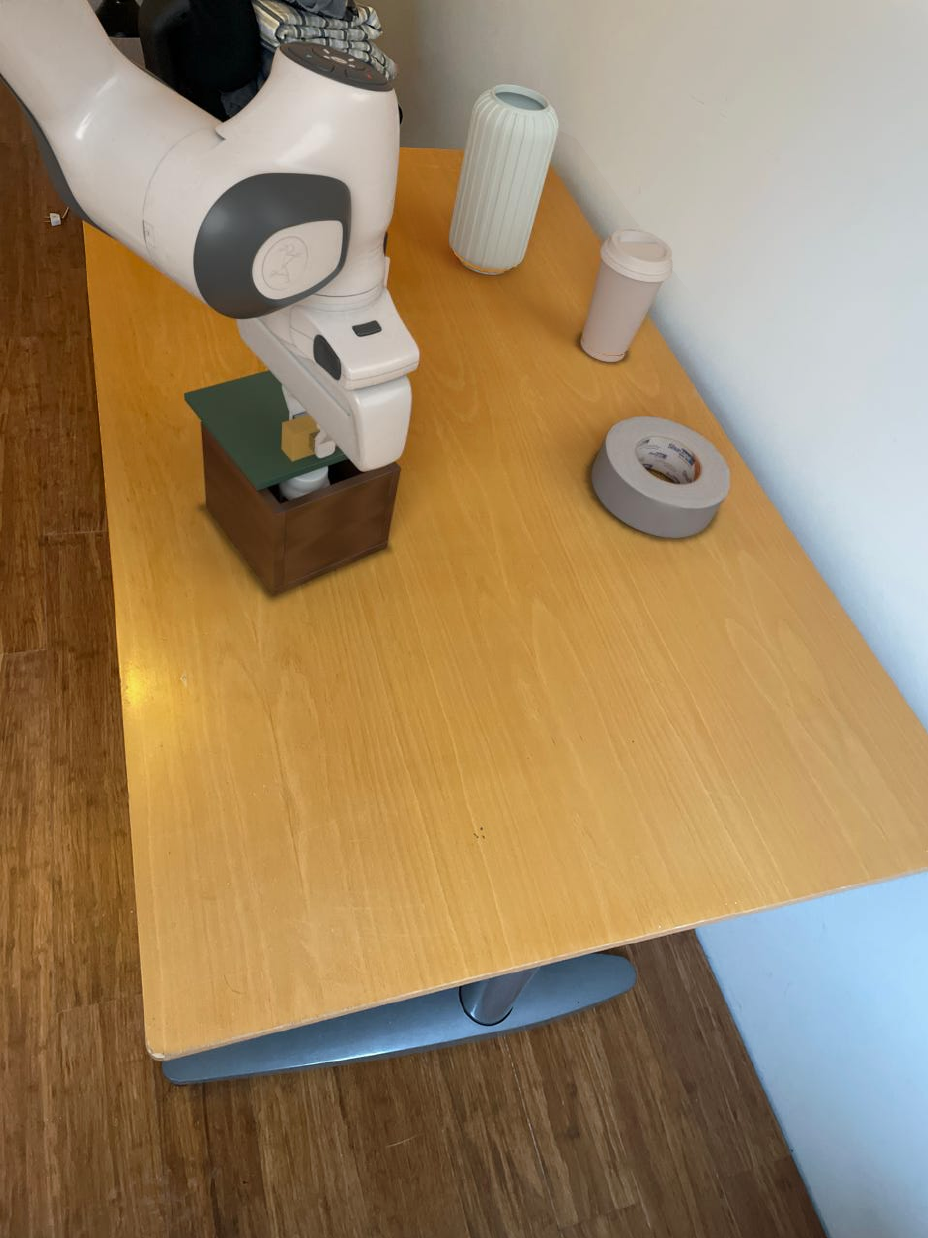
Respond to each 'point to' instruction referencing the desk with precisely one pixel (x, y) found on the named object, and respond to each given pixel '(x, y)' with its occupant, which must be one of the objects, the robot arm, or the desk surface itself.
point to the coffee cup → (624, 291)
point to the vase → (502, 176)
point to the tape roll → (648, 496)
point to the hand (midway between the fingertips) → (311, 440)
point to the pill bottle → (303, 484)
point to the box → (300, 518)
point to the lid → (259, 429)
